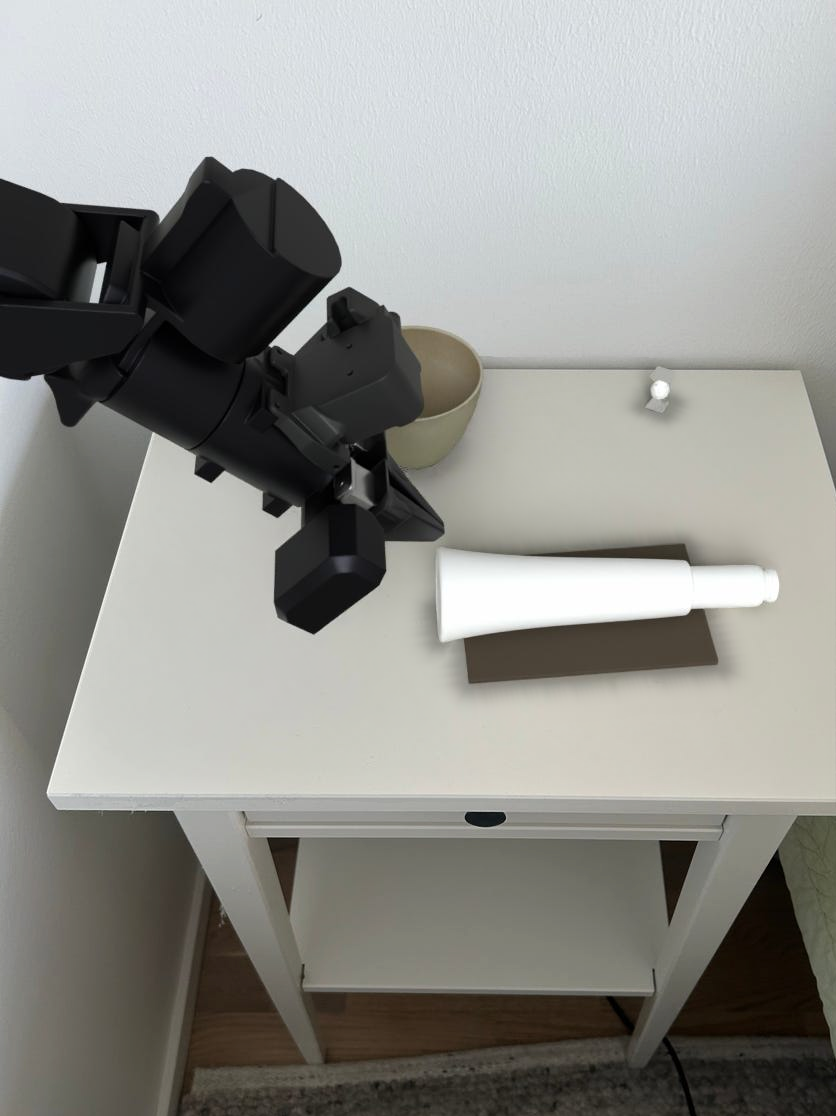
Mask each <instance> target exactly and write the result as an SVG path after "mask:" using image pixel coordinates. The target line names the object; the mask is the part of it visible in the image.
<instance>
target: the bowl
mask: <svg viewBox="0 0 836 1116" xmlns="http://www.w3.org/2000/svg"><path fill="white" fill-rule="evenodd" d="M401 330H402V336H403V337H404V339H405V340H406V342H407V344H408V345H409V347H410V348H411V350H412V351H413V353H414V354H415V356H416V357H417V359H418V361H419V362H420V364H421V372H420V377H421V387H422V394H423V396H424V409H423V411H422V413H421V415H420V416H419V417H418V418H417V419H416V420H415V421H413V422H412V423H410V424H408V425H406V426H403V427H393V428H390V429H388V430H386V441H387V449H388V452H389V454H390V455H391V456H392V458H393V459H394V461H395V462H396V463H397V465H398V466H399V467H400V468H401V467H402V468H406V469H412V470H413V469H415V470H416V469H424V468H428V467H432V466H434V465H436V464H437V463H440V462H441V461H442V460H443V459H445V457H446V456H447V455H448V454H449V453H450V452H451V451H452V450H453V449H454V447H455V446H456V445H457V444H458V442H459V441H460V440H461V438H462V437H463V435H464V433H465V432H466V430H467V428H468V426H469V424H470V423H471V421H472V418H473V416H474V413H475V410H476V408H477V405H478V402H479V399H480V394H481V390H482V385H483V380H484V366H483V362H482V360H481V359H482V358H481V357H480V355H479V353H478V352H477V350H475V348H474V347H473V346H472V345H471V344H470V343H469V342H467V341H466V340H464V339H463V338H462V337H460V336H458V335H456V334H454V333H452V332H450V331H447V330H444V329H440V328H436V327H432V326H428V325H427V326H426V325H401Z"/></svg>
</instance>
